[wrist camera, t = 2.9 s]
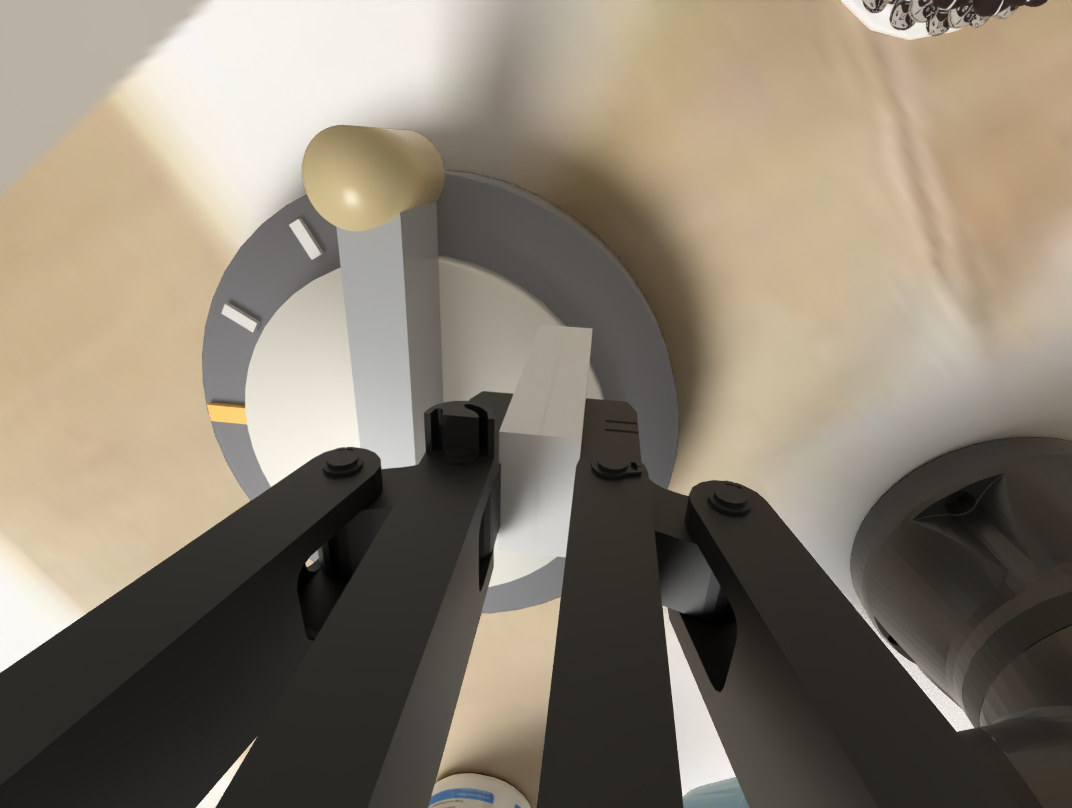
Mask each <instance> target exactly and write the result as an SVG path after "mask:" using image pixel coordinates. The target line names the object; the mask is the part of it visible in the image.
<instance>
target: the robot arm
mask: <svg viewBox="0 0 1072 808" xmlns="http://www.w3.org/2000/svg"><path fill="white" fill-rule="evenodd" d="M592 329H593V328H580V327H566V326H553V325H540V327H539V329H538V332H537V335H536V337H535V340H534V342H533V345H532V348H531V350H530V353H529V355H528V358H527V361H526V363H525V366H524V368H523V371H522V373H521V376H520V379H519V381H518V384H517V386H516V389H515V392H514V394H512V393H500V392H488V391H482V392H481V393H479V394H477V395H476V396H474V397H472V398H471V399H470V400H469V401H449V402H444V403H440V404H437V405H434V406H432V407H430V408H429V409H428V410H426V411H425V412H424V428H425V446H426V452H425V454H424V456H423V457H422V459H421V461H420V462H419V464H417V465H414V466H407V467H399V468H388V469H382V468H381V459H380V457H379V456H378V455H377V454H376V453H375V452H373V451H370V450H368V449H364V448H356V447H347V448H345V447H342V448H337V449H334V450H331V451H327V452H324V453H322V454H320V455H318V456H316V457H314V458H313V459H311V460H310V461H308V462H307V463H305V464H304V465H302V466H301V467H300V468H298V469H297V470H295V471H294V472H292V473H291V474H289V475H288V476H286V477H285V478H284V479H282V480H281V481H279V482H278V483H276V484H275V485H273V486H272V487H270V488H269V489H267V490H266V491H265V492H263V493H262V494H260V495H259V496H257V497H256V498H254V499H253V500H251V501H250V502H249V503H247V504H246V505H244V506H243V507H241V508H240V509H238V510H237V511H235V512H234V513H233V514H231V515H230V516H228V517H227V518H225V519H224V520H222V521H221V522H219V523H218V524H217V525H215V526H214V527H212V528H211V529H209V530H208V531H206V532H205V533H203V534H202V535H201V536H199V537H198V538H196V539H195V540H193V541H192V542H190V543H189V544H187V545H186V546H185V547H183V548H182V549H180V550H179V551H177V552H176V553H174V554H173V555H171V556H170V557H169V558H167V559H166V560H164V561H163V562H161V563H160V564H158V565H157V566H155V567H154V568H153V569H151V570H150V571H148V572H147V573H145V574H144V575H142V576H141V577H139V578H138V579H137V580H135V581H134V582H132V583H131V584H129V585H128V586H126V587H125V588H123V589H122V590H121V591H119V592H118V593H116V594H115V595H113V596H112V597H110V598H109V599H107V600H106V601H104V602H103V603H102V604H100V605H99V606H97V607H96V608H94V609H93V610H91V611H90V612H88V613H87V614H86V615H84V616H83V617H81V618H80V619H78V620H77V621H75V622H74V623H72V624H71V625H70V626H68V627H67V628H65V629H64V630H62V631H61V632H59V633H58V634H56V635H55V636H54V637H52V638H51V639H49V640H48V641H46V642H45V643H43V644H42V645H40V646H39V647H38V648H36V649H35V650H33V651H32V652H30V653H29V654H27V655H26V656H24V657H23V658H22V659H20V660H19V661H17V662H16V663H14V664H13V665H11V666H10V667H8V668H7V669H6V670H4V671H3V672H1V673H0V808H196V807H197V805H198V804H199V803H200V802H201V801H202V800H203V798H204V797H205V796H206V795H207V794H208V793H209V791H210V790H211V789H212V788H213V787H214V786H215V785H216V783H217V782H218V781H219V780H220V779H221V778H222V776H223V775H224V774H225V773H226V772H227V771H228V769H229V768H230V767H231V766H232V765H233V764H234V763H235V761H236V760H237V759H238V758H239V757H240V756H241V754H242V753H243V752H244V751H245V750H246V749H247V747H248V746H249V745H250V744H251V743H252V742H253V741H254V739H255V738H256V737H257V736H258V737H257V738H256V740H255V742H254V743H253V745H252V747H251V748H250V750H249V752H248V754H247V755H246V757H245V759H244V760H243V762H242V764H241V765H240V767H239V769H238V770H237V772H236V774H235V776H234V777H233V779H232V781H231V782H230V784H229V786H228V787H227V789H226V791H225V793H224V794H223V796H222V798H221V799H220V801H219V803H218V804H217V806H216V808H428V807H429V803H430V800H431V796H432V792H433V789H434V785H435V781H436V778H437V774H438V770H439V767H440V763H441V759H442V756H443V752H444V748H445V745H446V741H447V737H448V734H449V730H450V726H451V722H452V719H453V715H454V711H455V708H456V704H457V700H458V697H459V693H460V689H461V686H462V682H463V678H464V675H465V671H466V667H467V664H468V660H469V656H470V653H471V649H472V645H473V642H474V638H475V634H476V631H477V627H478V623H479V620H480V616H481V612H482V608H483V605H484V601H485V597H486V594H487V590H488V586H489V583H490V579H491V575H492V572H493V568H494V545H495V541H496V538H497V534H498V550H505V551H514V552H523V553H532V554H541V555H549V556H558V557H566V559H565V567H564V576H563V585H562V593H561V602H560V611H559V620H558V628H557V637H556V646H555V655H554V663H553V672H552V681H551V690H550V698H549V707H548V716H547V724H546V733H545V742H544V751H543V759H542V768H541V777H540V786H539V794H538V803H537V808H1072V441H1067V440H1061V439H1053V438H1040V437H1023V438H1010V439H1001V440H995V441H990V442H985V443H981V444H976V445H973V446H969V447H966V448H963V449H960V450H957V451H954V452H951V453H949V454H946V455H944V456H942V457H939V458H937V459H935V460H933V461H931V462H929V463H927V464H925V465H924V466H922V467H920V468H918V469H917V470H915V471H914V472H912V473H910V474H909V475H907V476H906V477H905V478H903V479H902V480H901V481H899V482H898V483H897V484H896V485H894V486H893V487H892V488H891V489H890V490H889V491H888V492H886V493H885V494H884V495H883V496H882V497H881V499H880V500H879V501H878V502H877V503H876V504H875V505H874V507H873V508H872V509H871V510H870V512H869V513H868V515H867V516H866V518H865V519H864V521H863V523H862V524H861V526H860V528H859V530H858V533H857V535H856V538H855V541H854V544H853V548H852V553H851V561H850V569H851V577H852V582H853V586H854V589H855V591H856V593H857V596H858V598H859V599H860V601H861V603H862V605H863V607H864V609H865V611H866V612H867V614H868V616H869V618H870V620H871V621H872V623H873V625H874V626H875V628H876V629H877V630H878V632H879V633H880V634H881V636H882V637H883V638H884V639H885V640H886V641H887V642H888V643H889V644H890V645H891V646H892V647H893V648H894V649H895V650H896V651H898V652H899V653H900V654H901V655H903V656H904V657H905V658H907V659H908V660H910V661H911V662H913V663H915V664H916V665H917V666H918V667H919V669H920V670H921V671H922V672H923V673H924V674H925V675H926V676H927V677H928V678H929V679H930V680H931V681H932V682H933V683H934V684H935V685H936V686H937V687H938V688H939V689H940V690H941V691H942V692H943V693H945V694H946V695H947V696H948V697H949V698H950V699H951V700H952V701H953V702H955V703H956V704H957V705H958V706H959V707H960V708H961V709H962V710H963V711H964V712H965V714H966V715H967V717H968V718H969V720H970V721H971V723H972V725H973V726H974V728H973V729H969V730H964V731H959V732H956V731H955V729H954V728H953V727H952V726H951V724H950V723H949V722H948V721H947V720H946V718H945V717H944V716H943V715H942V714H941V712H940V711H939V710H938V709H937V707H936V706H935V705H934V704H933V703H932V701H931V700H930V699H929V698H928V697H927V695H926V694H925V693H924V692H923V690H922V689H921V688H920V687H919V686H918V684H917V683H916V682H915V681H914V680H913V678H912V677H911V676H910V675H909V673H908V672H907V671H906V670H905V669H904V667H903V666H902V665H901V664H900V663H899V661H898V660H897V659H896V658H895V656H894V655H893V654H892V653H891V652H890V650H889V649H888V648H887V647H886V646H885V644H884V643H883V642H882V641H881V639H880V638H879V637H878V636H877V635H876V633H875V632H874V631H873V630H872V629H871V627H870V626H869V625H868V624H867V622H866V621H865V620H864V619H863V618H862V616H861V615H860V614H859V613H858V612H857V610H856V609H855V608H854V607H853V605H852V604H851V603H850V602H849V601H848V599H847V598H846V597H845V596H844V595H843V593H842V592H841V591H840V590H839V588H838V587H837V586H836V585H835V584H834V582H833V581H832V580H831V579H830V578H829V576H828V575H827V574H826V573H825V571H824V570H823V569H822V568H821V567H820V565H819V564H818V563H817V562H816V561H815V559H814V558H813V557H812V556H811V554H810V553H809V552H808V551H807V550H806V548H805V547H804V546H803V545H802V544H801V542H800V541H799V540H798V539H797V537H796V536H795V535H794V534H793V533H792V531H791V530H790V529H789V528H788V527H787V525H786V524H785V523H784V522H783V520H782V519H781V518H780V517H779V516H778V514H777V513H776V512H775V511H774V510H773V508H772V507H771V506H770V505H769V503H768V502H767V501H766V500H765V499H764V498H763V497H761V496H760V495H759V494H758V493H757V492H755V491H753V490H751V489H749V488H747V487H745V486H743V485H741V484H738V483H733V482H729V481H716V480H713V481H707V482H701V483H699V484H698V485H696V486H694V487H693V488H692V490H691V492H690V494H689V496H686V495H682V494H679V493H675V492H672V491H670V490H667V489H664V488H662V487H661V486H659V485H657V484H655V483H654V482H653V481H651V480H650V479H649V475H648V471H647V469H646V467H645V465H644V464H643V463H642V462H641V451H640V440H639V430H638V419H637V412H636V411H635V409H634V408H633V407H632V406H631V405H630V404H629V403H628V402H624V401H613V400H601V399H589V398H587V388H588V376H589V364H590V352H591V340H592ZM316 551H318V557H319V558H318V559H317V560H316V561H315V562H314V563H313V564H312V565H310V566H309V567H306V565H305V563H306V561H307V560H308V559H309V558H310V556H312V555H313V554H314V553H315V552H316ZM662 605H663V606H665V607H668V613H669V619H670V622H671V624H672V626H673V629H674V631H675V633H676V636H677V638H678V640H679V643H680V645H681V648H682V650H683V652H684V655H685V657H686V659H687V662H688V664H689V666H690V669H691V671H692V674H693V676H694V678H695V681H696V683H697V685H698V688H699V690H700V692H701V695H702V697H703V700H704V702H705V704H706V707H707V709H708V711H709V714H710V716H711V718H712V721H713V723H714V726H715V728H716V730H717V733H718V735H719V737H720V740H721V742H722V744H723V747H724V749H725V752H726V754H727V756H728V759H729V761H730V763H731V766H732V768H733V770H734V773H735V775H736V777H734V778H730V779H726V780H723V781H719V782H715V783H711V784H707V785H703V786H700V787H697V788H695V789H693V790H691V791H690V792H688V793H687V794H685V795H684V796H683V797H682V789H681V780H680V770H679V760H678V751H677V741H676V732H675V722H674V713H673V703H672V694H671V684H670V675H669V665H668V656H667V646H666V637H665V627H664V618H663V608H662Z"/></svg>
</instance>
